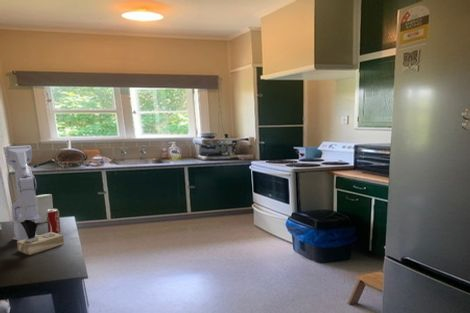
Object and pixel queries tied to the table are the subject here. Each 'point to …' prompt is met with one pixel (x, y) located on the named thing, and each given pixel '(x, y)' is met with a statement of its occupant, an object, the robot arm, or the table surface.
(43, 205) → the skincare box
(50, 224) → the soda can
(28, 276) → the table surface
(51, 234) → the peg
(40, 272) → the table surface
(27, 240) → the peg
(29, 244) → the peg board
